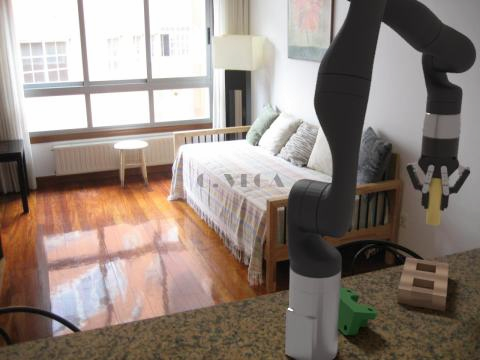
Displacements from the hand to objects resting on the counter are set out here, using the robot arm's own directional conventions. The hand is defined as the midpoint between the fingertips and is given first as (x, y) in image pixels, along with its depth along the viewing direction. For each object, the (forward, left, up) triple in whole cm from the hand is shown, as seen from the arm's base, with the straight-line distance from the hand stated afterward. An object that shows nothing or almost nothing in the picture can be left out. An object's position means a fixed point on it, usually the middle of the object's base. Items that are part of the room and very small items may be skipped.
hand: (434, 208), depth 117 cm
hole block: (-1, 0, -20) cm, 20 cm away
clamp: (-25, +6, -20) cm, 33 cm away
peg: (0, 0, -4) cm, 4 cm away
